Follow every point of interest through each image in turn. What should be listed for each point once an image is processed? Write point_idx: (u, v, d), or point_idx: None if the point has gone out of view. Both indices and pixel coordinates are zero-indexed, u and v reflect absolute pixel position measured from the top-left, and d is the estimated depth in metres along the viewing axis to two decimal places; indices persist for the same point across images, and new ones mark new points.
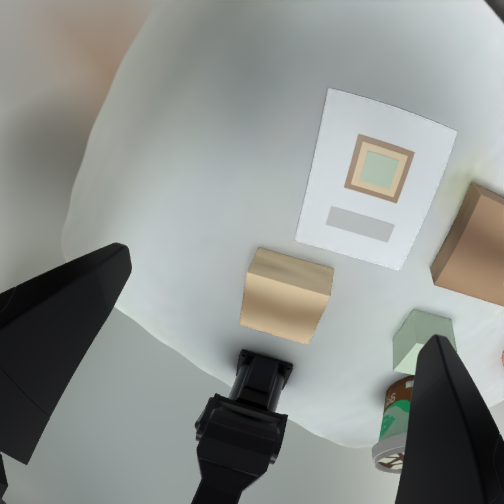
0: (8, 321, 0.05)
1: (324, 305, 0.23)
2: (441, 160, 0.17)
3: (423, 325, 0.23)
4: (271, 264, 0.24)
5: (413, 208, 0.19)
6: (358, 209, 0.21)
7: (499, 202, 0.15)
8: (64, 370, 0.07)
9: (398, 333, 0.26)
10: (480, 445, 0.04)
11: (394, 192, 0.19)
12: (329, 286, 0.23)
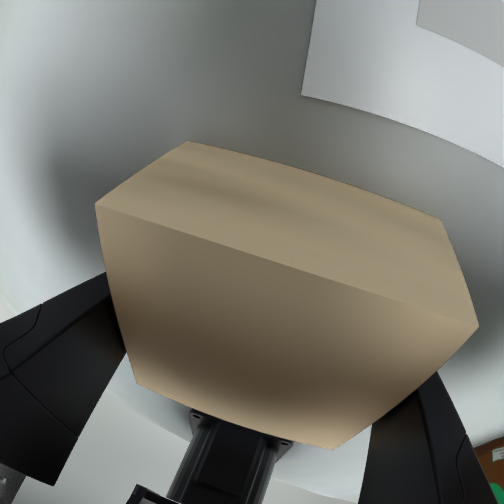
0: (39, 344, 0.04)
1: (437, 363, 0.04)
2: None
3: None
4: (215, 183, 0.06)
5: None
6: None
7: None
8: (95, 389, 0.06)
9: None
10: (441, 444, 0.04)
11: None
12: (460, 281, 0.04)
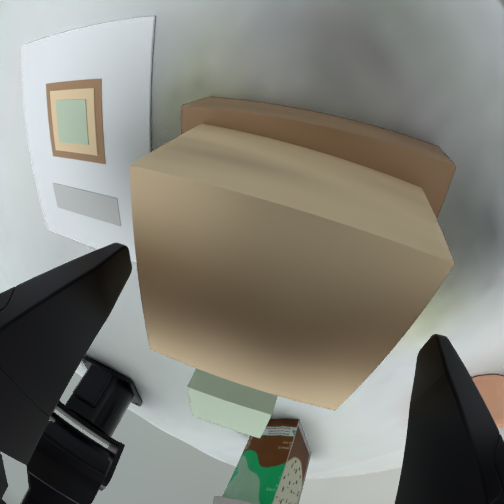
0: (8, 321, 0.05)
1: (423, 302, 0.05)
2: (142, 75, 0.10)
3: None
4: (228, 153, 0.07)
5: (128, 166, 0.12)
6: (74, 182, 0.14)
7: (243, 110, 0.08)
8: (64, 370, 0.07)
9: None
10: (479, 445, 0.04)
11: (95, 147, 0.12)
12: (437, 231, 0.06)
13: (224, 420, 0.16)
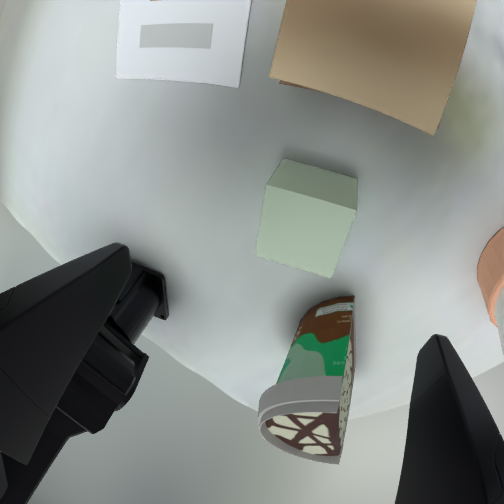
0: (8, 321, 0.05)
1: (470, 13, 0.06)
2: None
3: (294, 172, 0.16)
4: None
5: None
6: (168, 18, 0.14)
7: None
8: (64, 370, 0.07)
9: None
10: (479, 445, 0.04)
11: None
12: None
13: (296, 246, 0.16)
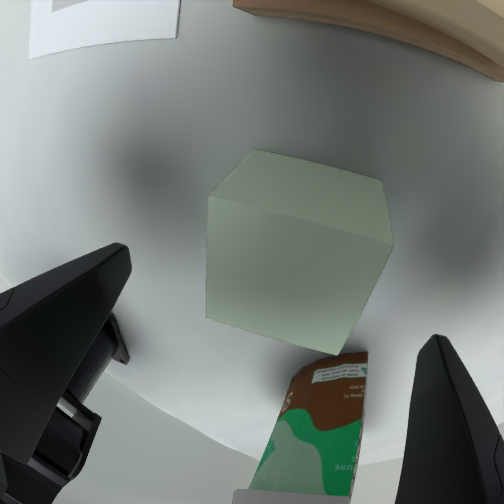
0: (8, 321, 0.05)
1: None
2: None
3: (270, 170, 0.09)
4: None
5: None
6: None
7: None
8: (64, 370, 0.07)
9: None
10: (479, 445, 0.04)
11: None
12: None
13: (275, 307, 0.09)
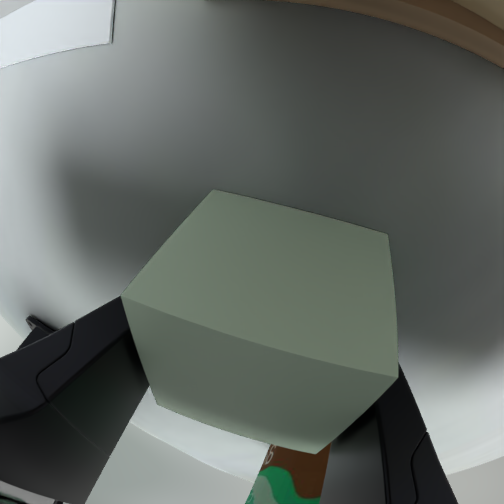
0: (77, 369, 0.04)
1: None
2: None
3: (224, 235, 0.06)
4: None
5: None
6: None
7: None
8: (129, 407, 0.06)
9: None
10: (396, 441, 0.04)
11: None
12: None
13: (234, 414, 0.06)
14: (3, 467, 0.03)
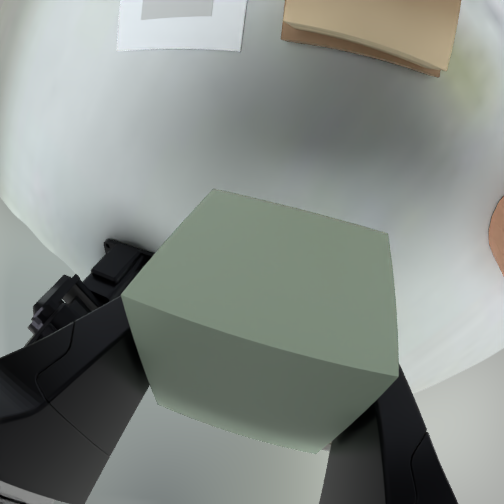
0: (77, 369, 0.04)
1: None
2: None
3: (224, 234, 0.06)
4: None
5: None
6: None
7: None
8: (129, 407, 0.06)
9: None
10: (397, 441, 0.04)
11: None
12: None
13: (234, 413, 0.06)
14: (3, 467, 0.03)
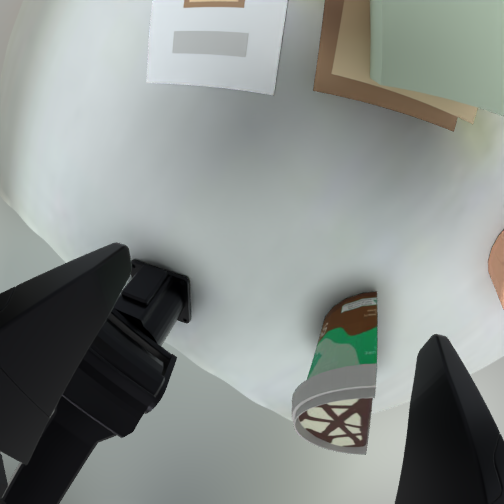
0: (8, 321, 0.05)
1: None
2: None
3: None
4: None
5: (266, 8, 0.13)
6: (203, 26, 0.15)
7: None
8: (64, 370, 0.07)
9: (371, 48, 0.09)
10: (480, 445, 0.04)
11: None
12: None
13: (453, 53, 0.06)
14: None
